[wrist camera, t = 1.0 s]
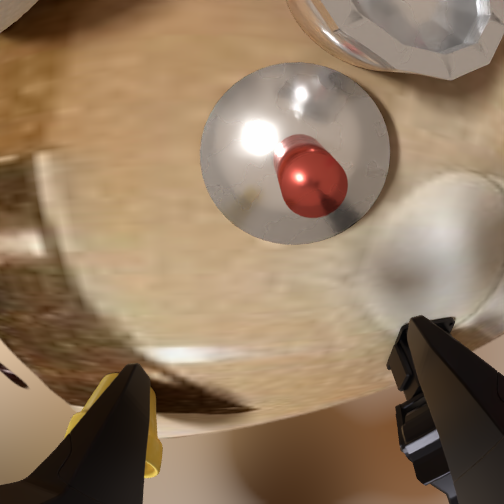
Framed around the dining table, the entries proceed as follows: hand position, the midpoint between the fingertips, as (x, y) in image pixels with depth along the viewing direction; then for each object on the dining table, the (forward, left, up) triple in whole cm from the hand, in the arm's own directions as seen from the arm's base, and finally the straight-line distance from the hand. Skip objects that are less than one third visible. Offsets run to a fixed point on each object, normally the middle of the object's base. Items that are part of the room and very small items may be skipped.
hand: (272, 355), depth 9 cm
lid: (-2, -3, -13) cm, 13 cm away
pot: (-7, -14, -13) cm, 20 cm away
